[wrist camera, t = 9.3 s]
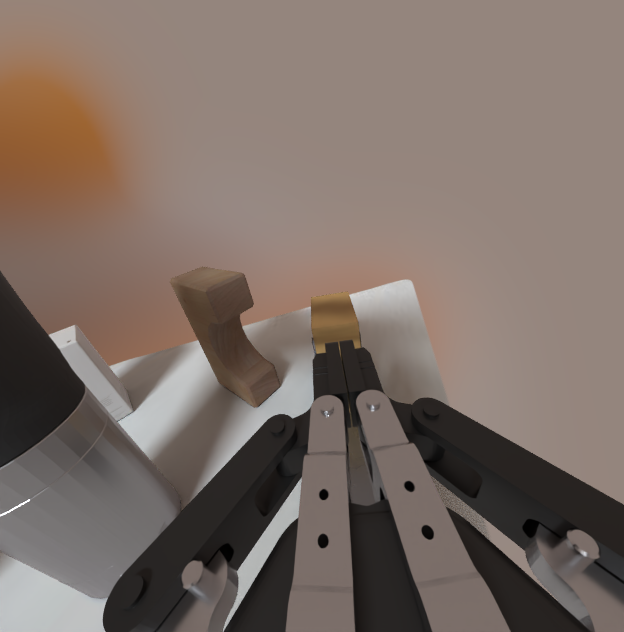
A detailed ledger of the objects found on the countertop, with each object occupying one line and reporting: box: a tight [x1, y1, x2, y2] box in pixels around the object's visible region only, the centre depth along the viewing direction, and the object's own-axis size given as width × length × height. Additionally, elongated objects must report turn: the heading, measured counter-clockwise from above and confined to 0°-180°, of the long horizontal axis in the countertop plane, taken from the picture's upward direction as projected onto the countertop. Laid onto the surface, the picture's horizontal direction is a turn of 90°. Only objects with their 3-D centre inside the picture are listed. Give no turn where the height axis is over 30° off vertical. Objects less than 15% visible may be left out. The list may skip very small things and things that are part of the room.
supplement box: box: [49, 325, 133, 421], centre depth 38 cm, size 9×9×15 cm
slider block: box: [311, 292, 361, 411], centre depth 33 cm, size 8×5×14 cm, turn 1°
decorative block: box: [170, 267, 280, 407], centre depth 37 cm, size 11×6×20 cm, turn 49°
